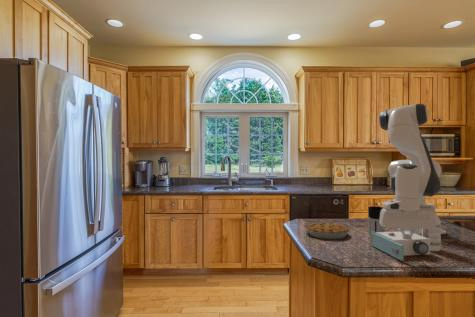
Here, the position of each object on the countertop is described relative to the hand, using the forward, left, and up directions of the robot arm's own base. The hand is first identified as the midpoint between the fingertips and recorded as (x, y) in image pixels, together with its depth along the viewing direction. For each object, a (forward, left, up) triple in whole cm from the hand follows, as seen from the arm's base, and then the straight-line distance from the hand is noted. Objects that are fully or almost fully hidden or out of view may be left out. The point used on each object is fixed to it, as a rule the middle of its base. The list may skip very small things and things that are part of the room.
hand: (407, 239), depth 120 cm
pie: (+16, -40, -8) cm, 44 cm away
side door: (+5, -7, -8) cm, 11 cm away
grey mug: (-6, -29, -8) cm, 31 cm away
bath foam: (-19, -10, -8) cm, 22 cm away
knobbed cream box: (-5, -9, -8) cm, 12 cm away
